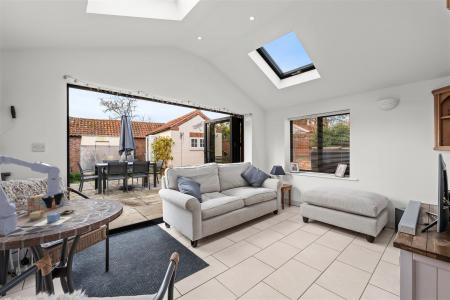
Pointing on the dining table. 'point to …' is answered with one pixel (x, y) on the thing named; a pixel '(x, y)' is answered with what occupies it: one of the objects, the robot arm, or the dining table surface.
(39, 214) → the oak block
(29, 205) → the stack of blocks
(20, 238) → the dining table surface
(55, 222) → the letter card
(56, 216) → the blue cube
